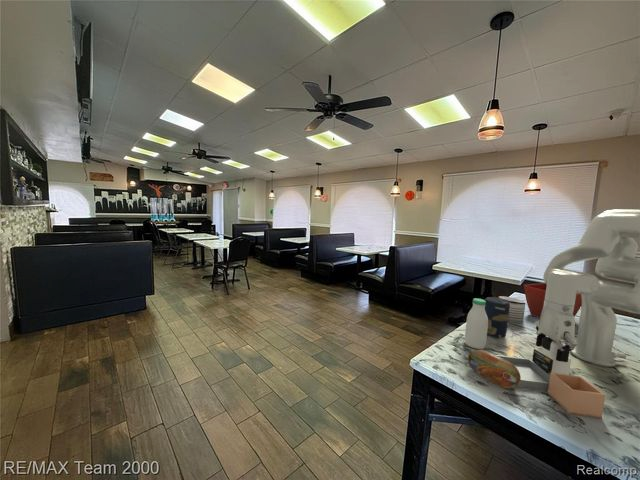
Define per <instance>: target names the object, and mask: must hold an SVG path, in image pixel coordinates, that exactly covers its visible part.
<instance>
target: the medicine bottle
mask: <svg viewBox="0 0 640 480" xmlns="http://www.w3.org/2000/svg"><path fill="white" fill-rule="evenodd" d="M562 345H563V346H565V344H563V343H562ZM557 349H559V346H558V344H557V342H556V341H554V340H552V339H551V338H549V337H548V336H547V337H544V338H542V344H541V347H534V348H533V352H532V359H531V360H532V361H533V362H534V363H535V364H537V365H538V366H539V367H540V368H541V369H542V370H544V371H545V372H546V373H547V374H548V375H549V376H550V374H551V373H558V374H566V375H570V370H571V365H572V358H571V357H569V358H568V362H561V361H557V360H556V355H557Z"/></svg>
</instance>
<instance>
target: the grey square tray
mask: <svg viewBox="0 0 640 480" xmlns="http://www.w3.org/2000/svg"><path fill="white" fill-rule="evenodd" d="M494 355H495V356H498V357H500V358H502V359H504V360H507V361H509V362H511V363H512V364H513V365H514V366H515V367H516V368H517V369H518V371H519V373H520V377H521V379H520V383H519V384H518V385H517V386H516V388H517V387H519V388H524V389H526V388H527V389H532V390H533V389H534V390H538V391H539V390H540V391H546V392H548V388H549V381H550V376H549V375H548V374H547V373H546V372H545V371H544V370H542V369H541V368H540V367H539V366H538V365H537V364H535V363H534V362H533V361H532V359H530V358H525V357H517V356H516V357H515V356H509V355H508V356H507V355H501V354H500V355H499V354H498V355H497V354H494Z"/></svg>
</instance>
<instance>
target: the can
mask: <svg viewBox="0 0 640 480" xmlns="http://www.w3.org/2000/svg"><path fill="white" fill-rule="evenodd" d="M498 298H500V299H504V300H506V301H508V302H509V303H510V308H509V319H508V324H510V323H511V325H518V324H520V325H523V324H524V317H525V310H526V304H527V301H524V300H522V299H519V298H515V297H509V296H504V295H502V296H501V295H500V296H498Z"/></svg>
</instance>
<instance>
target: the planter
mask: <svg viewBox="0 0 640 480" xmlns="http://www.w3.org/2000/svg"><path fill="white" fill-rule="evenodd" d="M547 395H549V396H550V397H551V398H552V399H553V400H554V401H555V402H556V403H557V404H558V405H559V406H560V407H561V408H562V409H563V410H564V411H566V413H567V414H570V415H577V416H583V417H590V418H597V419H603V415H604V408H605V401H606V394H605V393H603V391H601V390H599V388H597V387H596V386H594V385H593V384H592V383H590V382H589V381H587V380H586V378H584V377H582V376H581V375H572V374H569V375H566V374H558V373H551V374H550V381H549V388H548V391H547Z"/></svg>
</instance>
